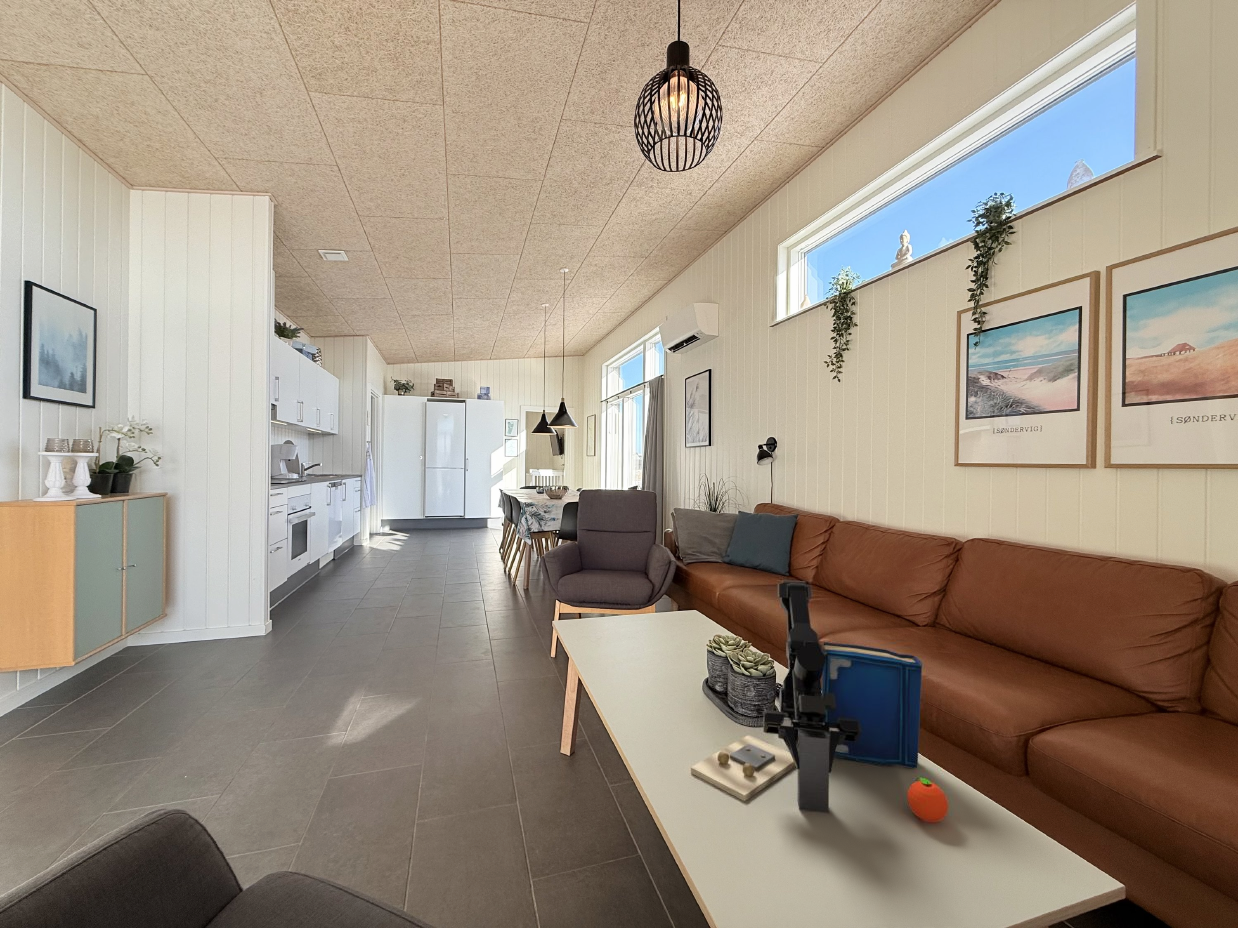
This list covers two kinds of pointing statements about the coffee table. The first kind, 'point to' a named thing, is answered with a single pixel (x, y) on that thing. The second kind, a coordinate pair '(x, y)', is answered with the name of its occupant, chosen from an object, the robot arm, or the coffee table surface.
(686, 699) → the coffee table surface
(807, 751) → the grey block
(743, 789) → the board
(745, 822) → the coffee table surface
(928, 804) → the clementine
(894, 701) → the book
